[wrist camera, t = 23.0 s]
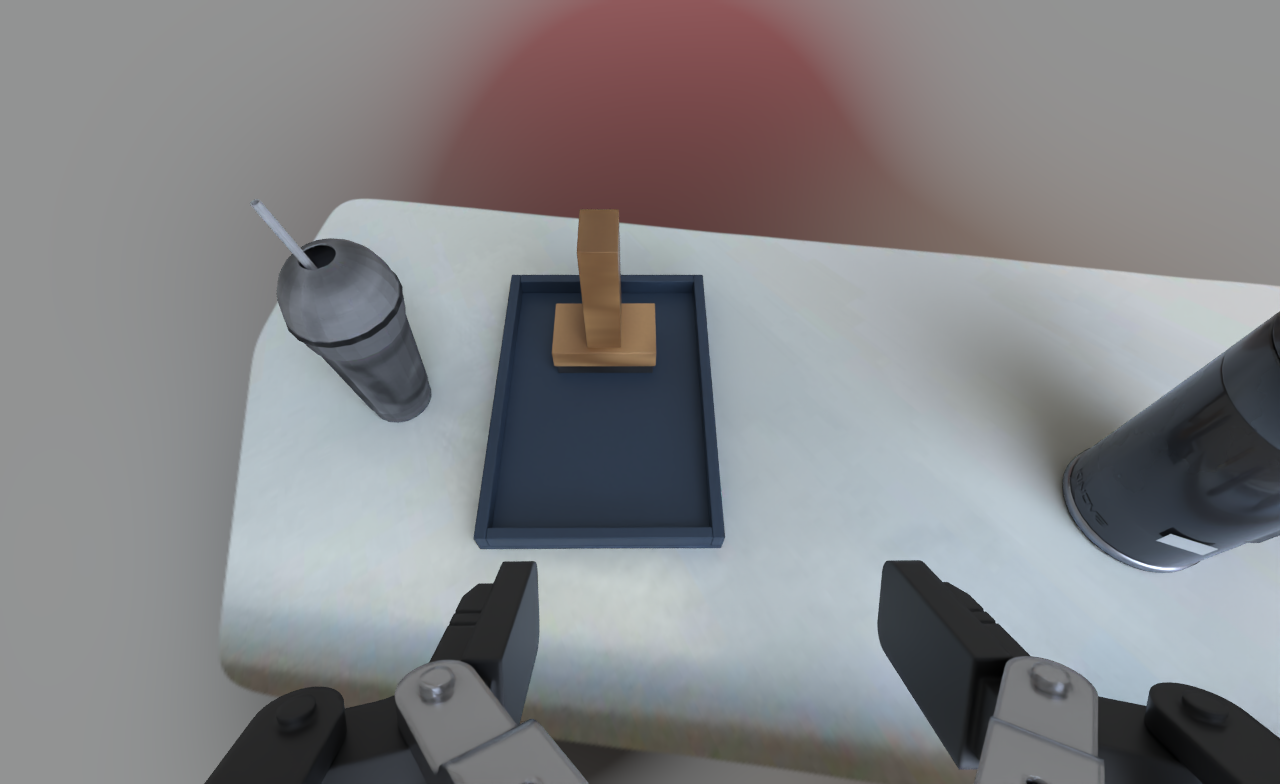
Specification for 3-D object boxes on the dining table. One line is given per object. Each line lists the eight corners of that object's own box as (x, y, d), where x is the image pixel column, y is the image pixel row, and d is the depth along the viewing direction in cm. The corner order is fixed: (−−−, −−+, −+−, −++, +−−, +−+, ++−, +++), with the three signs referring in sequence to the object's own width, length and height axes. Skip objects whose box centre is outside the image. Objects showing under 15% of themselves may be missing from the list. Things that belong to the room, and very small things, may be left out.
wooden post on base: (653, 326, 51) (659, 203, 40) (655, 375, 49) (661, 258, 38) (559, 326, 51) (539, 204, 40) (555, 375, 49) (533, 258, 38)
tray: (700, 290, 54) (702, 274, 53) (721, 548, 42) (725, 538, 40) (515, 290, 54) (511, 274, 52) (480, 549, 42) (473, 539, 40)
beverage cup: (466, 403, 48) (375, 198, 31) (381, 455, 45) (232, 264, 28) (421, 346, 51) (315, 131, 34) (339, 392, 48) (181, 185, 31)
